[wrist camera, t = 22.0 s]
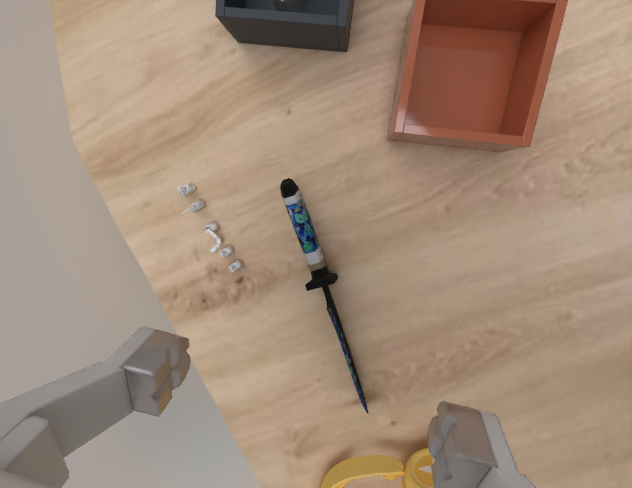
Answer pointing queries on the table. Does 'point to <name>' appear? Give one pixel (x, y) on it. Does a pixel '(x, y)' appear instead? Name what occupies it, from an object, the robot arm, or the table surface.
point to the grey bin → (288, 23)
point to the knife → (316, 265)
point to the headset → (383, 470)
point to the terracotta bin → (474, 72)
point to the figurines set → (209, 226)
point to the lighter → (288, 5)
